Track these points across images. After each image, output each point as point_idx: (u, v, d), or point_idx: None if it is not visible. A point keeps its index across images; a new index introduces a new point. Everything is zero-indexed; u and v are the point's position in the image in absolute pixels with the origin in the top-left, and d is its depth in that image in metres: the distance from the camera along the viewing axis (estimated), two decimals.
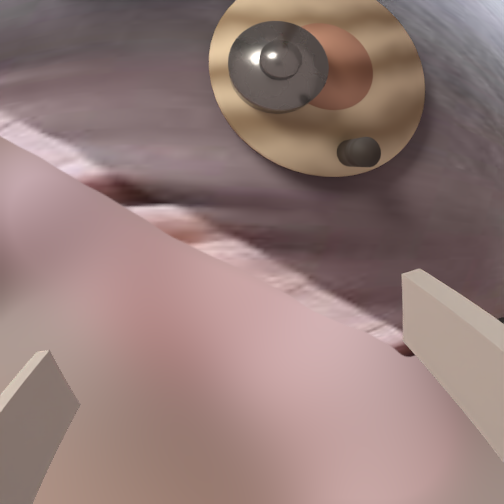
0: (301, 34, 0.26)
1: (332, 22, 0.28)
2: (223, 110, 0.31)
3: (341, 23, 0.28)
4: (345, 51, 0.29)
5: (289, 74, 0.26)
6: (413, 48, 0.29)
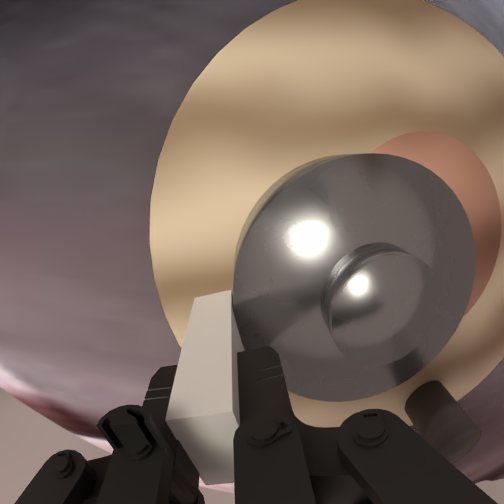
0: (434, 199, 0.10)
1: (448, 125, 0.12)
2: None
3: (464, 129, 0.12)
4: (465, 204, 0.13)
5: (400, 355, 0.10)
6: None
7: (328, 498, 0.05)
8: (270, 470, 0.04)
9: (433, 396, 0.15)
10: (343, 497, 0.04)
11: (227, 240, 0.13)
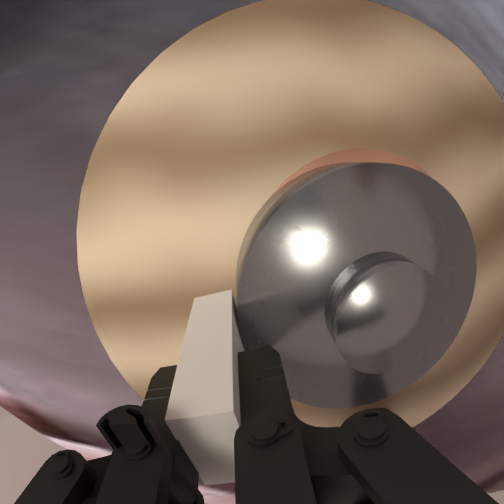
0: (439, 210, 0.10)
1: (389, 140, 0.12)
2: (131, 384, 0.15)
3: (411, 143, 0.12)
4: None
5: (402, 364, 0.10)
6: None
7: (329, 498, 0.05)
8: (271, 470, 0.04)
9: None
10: (343, 498, 0.04)
11: (144, 267, 0.13)
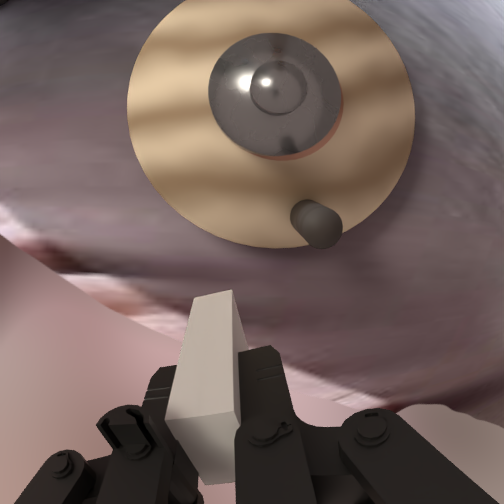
0: (305, 51, 0.20)
1: None
2: (145, 170, 0.25)
3: (302, 37, 0.23)
4: None
5: (290, 109, 0.20)
6: (401, 67, 0.24)
7: (329, 498, 0.05)
8: (271, 470, 0.04)
9: (305, 202, 0.25)
10: (344, 497, 0.04)
11: (164, 94, 0.23)
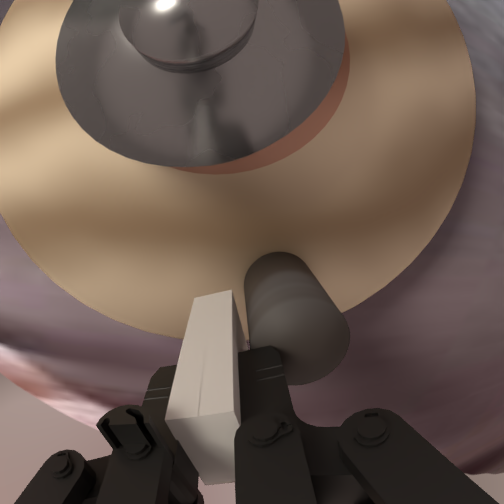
0: None
1: None
2: None
3: None
4: None
5: (212, 48, 0.07)
6: (445, 7, 0.10)
7: (329, 498, 0.05)
8: (271, 470, 0.04)
9: (270, 263, 0.12)
10: (344, 498, 0.04)
11: (23, 74, 0.10)
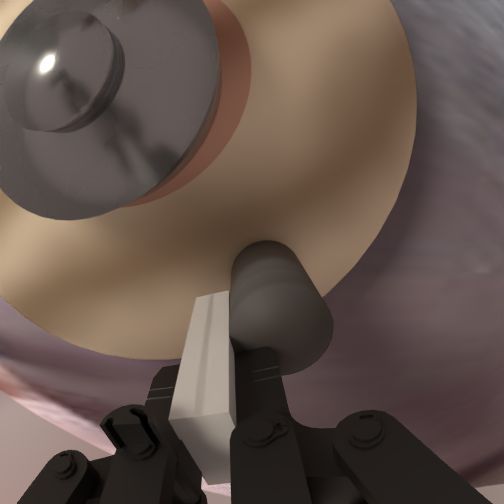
0: None
1: None
2: (5, 297, 0.13)
3: None
4: None
5: (84, 99, 0.07)
6: None
7: (324, 499, 0.05)
8: (266, 471, 0.04)
9: (242, 259, 0.12)
10: (339, 499, 0.04)
11: None
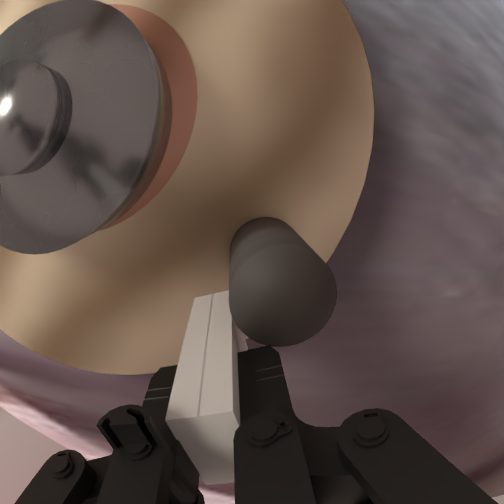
0: (33, 24, 0.07)
1: None
2: (27, 346, 0.14)
3: None
4: None
5: (40, 132, 0.07)
6: None
7: (328, 498, 0.05)
8: (270, 470, 0.04)
9: (234, 242, 0.12)
10: (343, 497, 0.04)
11: None
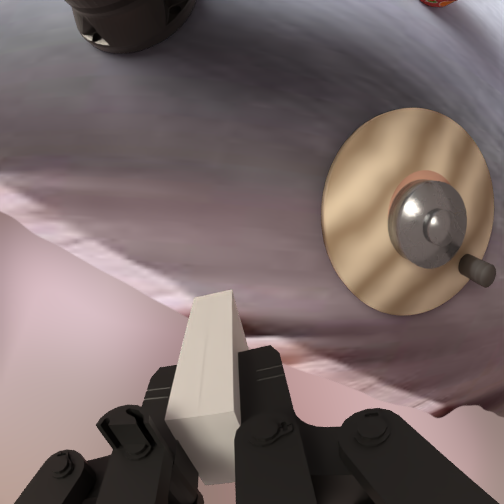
0: (436, 188, 0.30)
1: (407, 171, 0.32)
2: (380, 310, 0.37)
3: (413, 165, 0.32)
4: None
5: (453, 236, 0.30)
6: (464, 133, 0.31)
7: (329, 498, 0.05)
8: (271, 470, 0.04)
9: (466, 262, 0.34)
10: (344, 497, 0.04)
11: (366, 264, 0.35)
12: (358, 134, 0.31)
